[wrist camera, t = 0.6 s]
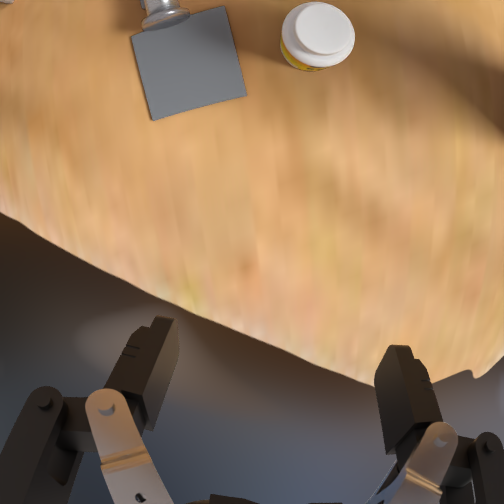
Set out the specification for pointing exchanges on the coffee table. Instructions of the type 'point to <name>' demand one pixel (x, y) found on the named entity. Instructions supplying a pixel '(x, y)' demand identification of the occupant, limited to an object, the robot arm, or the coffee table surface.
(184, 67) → the plate
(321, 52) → the supplement bottle
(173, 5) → the shaft stub
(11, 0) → the grey rounded slab
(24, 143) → the coffee table surface
